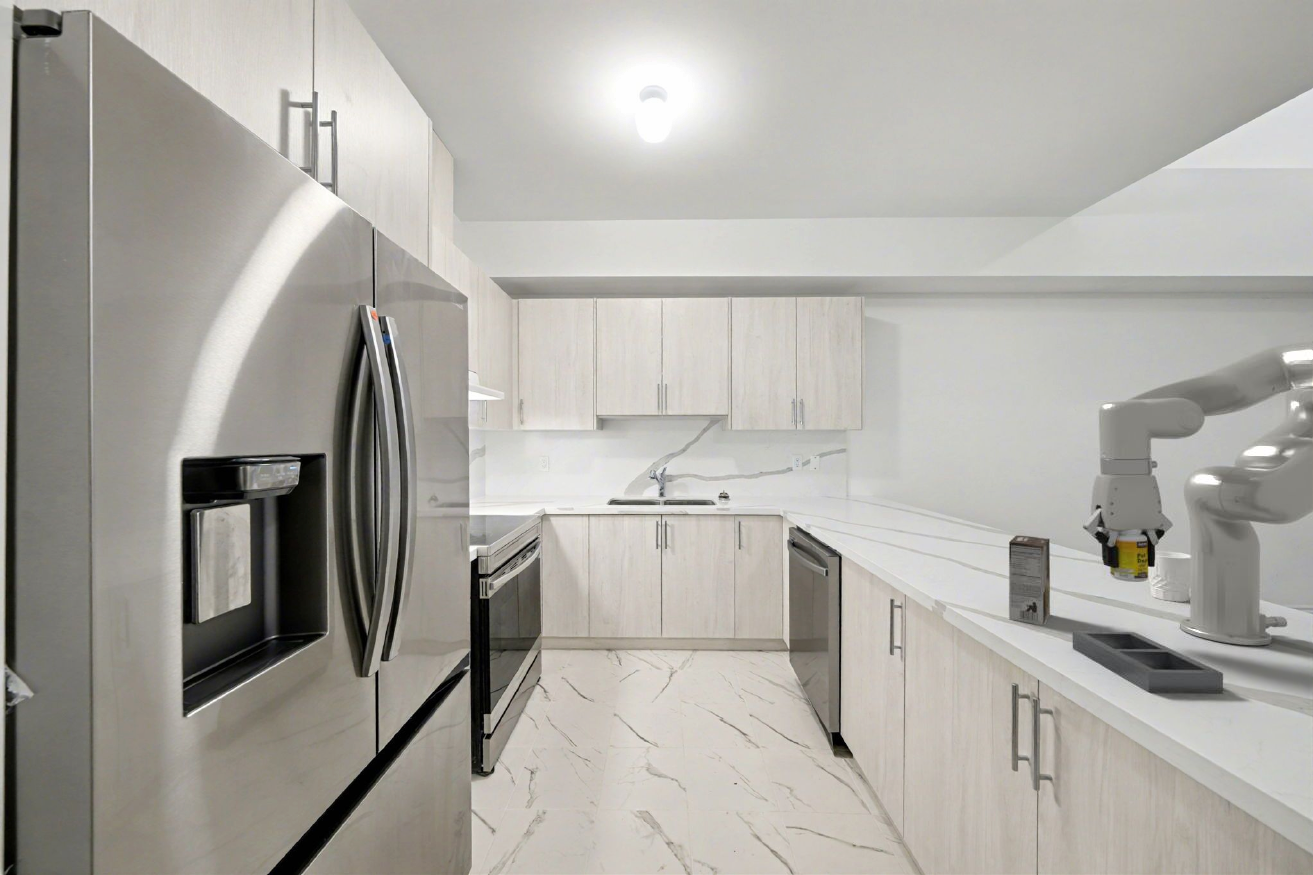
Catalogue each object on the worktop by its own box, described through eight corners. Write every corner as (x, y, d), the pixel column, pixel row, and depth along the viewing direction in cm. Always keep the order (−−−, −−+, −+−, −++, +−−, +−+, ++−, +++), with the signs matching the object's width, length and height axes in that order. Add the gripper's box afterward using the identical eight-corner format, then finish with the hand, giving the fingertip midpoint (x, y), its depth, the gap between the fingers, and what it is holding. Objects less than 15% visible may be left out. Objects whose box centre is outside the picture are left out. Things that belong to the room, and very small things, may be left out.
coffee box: (1015, 609, 132) (1015, 534, 131) (1050, 614, 128) (1050, 537, 127) (1007, 619, 125) (1007, 541, 124) (1044, 625, 121) (1044, 544, 120)
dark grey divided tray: (1072, 648, 108) (1072, 631, 108) (1134, 648, 108) (1134, 632, 108) (1148, 692, 90) (1148, 672, 90) (1222, 693, 90) (1222, 673, 90)
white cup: (1138, 595, 141) (1139, 552, 141) (1162, 592, 144) (1163, 549, 144) (1176, 604, 134) (1176, 559, 134) (1201, 600, 136) (1201, 556, 136)
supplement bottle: (1141, 584, 109) (1139, 527, 108) (1105, 578, 113) (1103, 524, 113) (1153, 578, 112) (1151, 523, 111) (1117, 573, 116) (1115, 520, 116)
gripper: (1158, 464, 115) (1161, 559, 116) (1064, 468, 116) (1067, 562, 117) (1191, 467, 108) (1194, 569, 108) (1090, 471, 109) (1093, 572, 109)
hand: (1128, 564), depth 112 cm, fingers closed on supplement bottle, 5 cm apart
